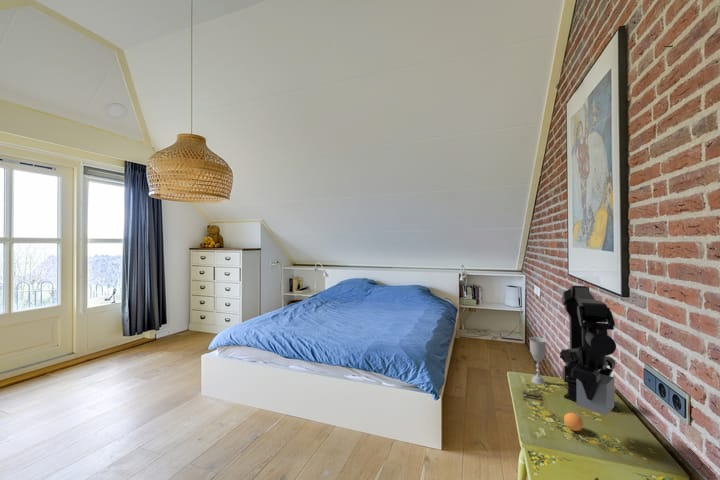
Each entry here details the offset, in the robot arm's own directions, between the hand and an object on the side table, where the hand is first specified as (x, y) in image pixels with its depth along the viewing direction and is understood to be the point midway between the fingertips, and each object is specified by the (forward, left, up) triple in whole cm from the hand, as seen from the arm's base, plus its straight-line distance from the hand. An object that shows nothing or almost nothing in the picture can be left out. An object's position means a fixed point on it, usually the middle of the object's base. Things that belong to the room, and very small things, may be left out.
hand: (594, 395), depth 94 cm
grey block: (0, 0, -3) cm, 3 cm away
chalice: (-26, -27, -13) cm, 40 cm away
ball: (0, -5, -10) cm, 12 cm away
